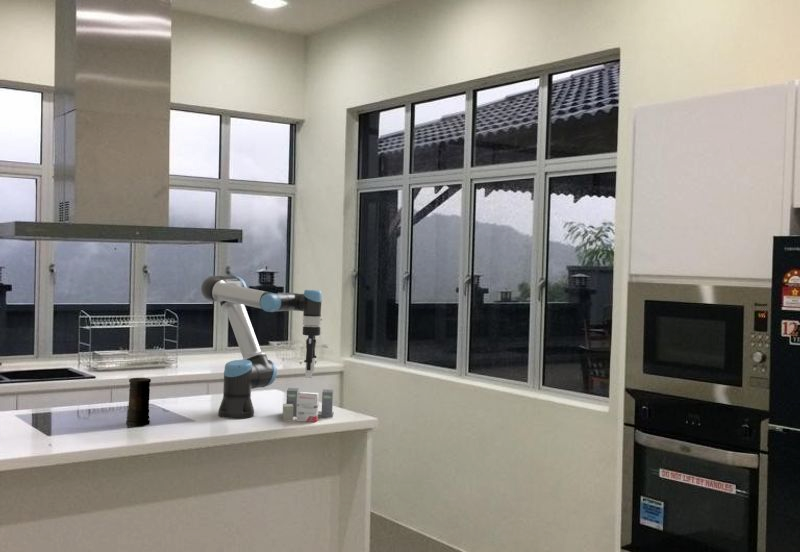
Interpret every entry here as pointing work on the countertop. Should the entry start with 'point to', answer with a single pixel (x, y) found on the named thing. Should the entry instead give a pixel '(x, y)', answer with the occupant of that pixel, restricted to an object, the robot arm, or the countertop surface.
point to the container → (139, 402)
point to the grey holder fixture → (326, 402)
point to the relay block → (288, 411)
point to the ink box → (307, 406)
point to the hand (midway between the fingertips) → (309, 375)
